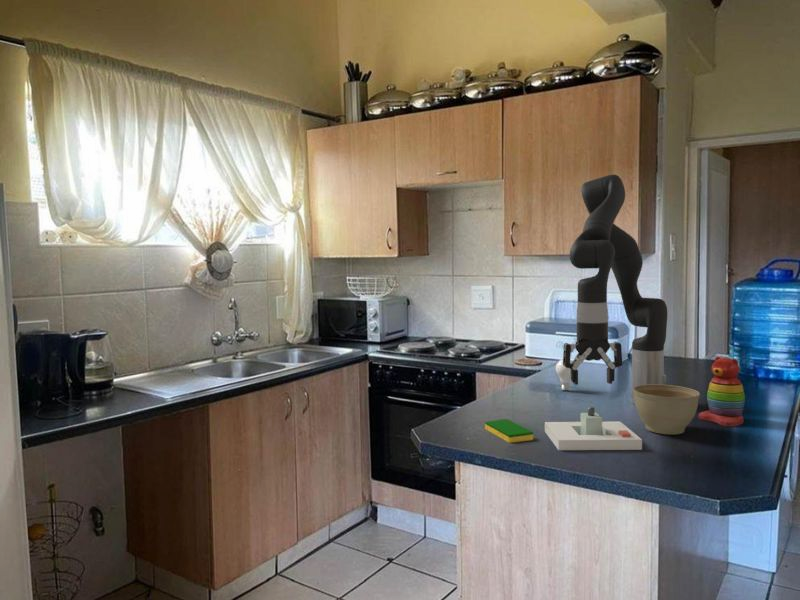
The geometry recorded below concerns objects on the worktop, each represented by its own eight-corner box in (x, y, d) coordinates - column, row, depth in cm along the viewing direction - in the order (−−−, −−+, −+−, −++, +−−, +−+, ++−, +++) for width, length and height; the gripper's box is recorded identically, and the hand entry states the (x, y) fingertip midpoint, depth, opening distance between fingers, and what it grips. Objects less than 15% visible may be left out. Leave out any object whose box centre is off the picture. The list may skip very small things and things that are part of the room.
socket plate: (619, 430, 164) (620, 418, 164) (641, 449, 148) (642, 436, 148) (544, 431, 165) (544, 419, 164) (558, 450, 149) (558, 436, 148)
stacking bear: (694, 418, 175) (696, 356, 174) (720, 414, 179) (721, 353, 178) (728, 427, 165) (730, 362, 164) (754, 423, 169) (756, 359, 168)
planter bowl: (694, 443, 153) (695, 400, 152) (627, 433, 161) (627, 393, 160) (702, 427, 166) (702, 387, 165) (639, 419, 175) (639, 381, 174)
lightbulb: (554, 392, 210) (554, 360, 209) (557, 388, 216) (557, 357, 215) (573, 393, 208) (573, 361, 207) (575, 389, 214) (575, 358, 213)
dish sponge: (509, 444, 155) (509, 435, 155) (484, 430, 168) (484, 421, 168) (533, 441, 157) (533, 431, 157) (507, 427, 171) (507, 418, 170)
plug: (595, 435, 159) (596, 404, 158) (602, 441, 154) (602, 409, 153) (580, 435, 159) (580, 405, 158) (586, 441, 154) (586, 410, 153)
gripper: (615, 317, 157) (615, 379, 159) (560, 319, 158) (560, 381, 159) (626, 321, 150) (625, 386, 151) (567, 322, 150) (567, 387, 152)
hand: (592, 383), depth 155 cm, fingers open, 8 cm apart
